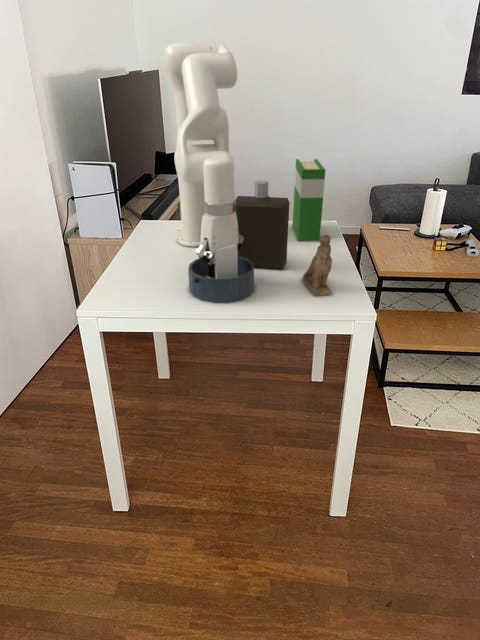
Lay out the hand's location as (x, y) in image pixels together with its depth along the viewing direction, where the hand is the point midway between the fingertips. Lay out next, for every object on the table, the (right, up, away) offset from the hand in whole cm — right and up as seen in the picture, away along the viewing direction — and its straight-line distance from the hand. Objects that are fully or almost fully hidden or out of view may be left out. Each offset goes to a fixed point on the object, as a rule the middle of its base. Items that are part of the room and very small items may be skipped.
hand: (221, 271), depth 129 cm
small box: (0, -4, +3) cm, 5 cm away
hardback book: (+29, +18, +43) cm, 55 cm away
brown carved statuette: (+26, -4, +3) cm, 27 cm away
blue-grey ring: (0, -4, +2) cm, 5 cm away
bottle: (+11, +4, +17) cm, 21 cm away
